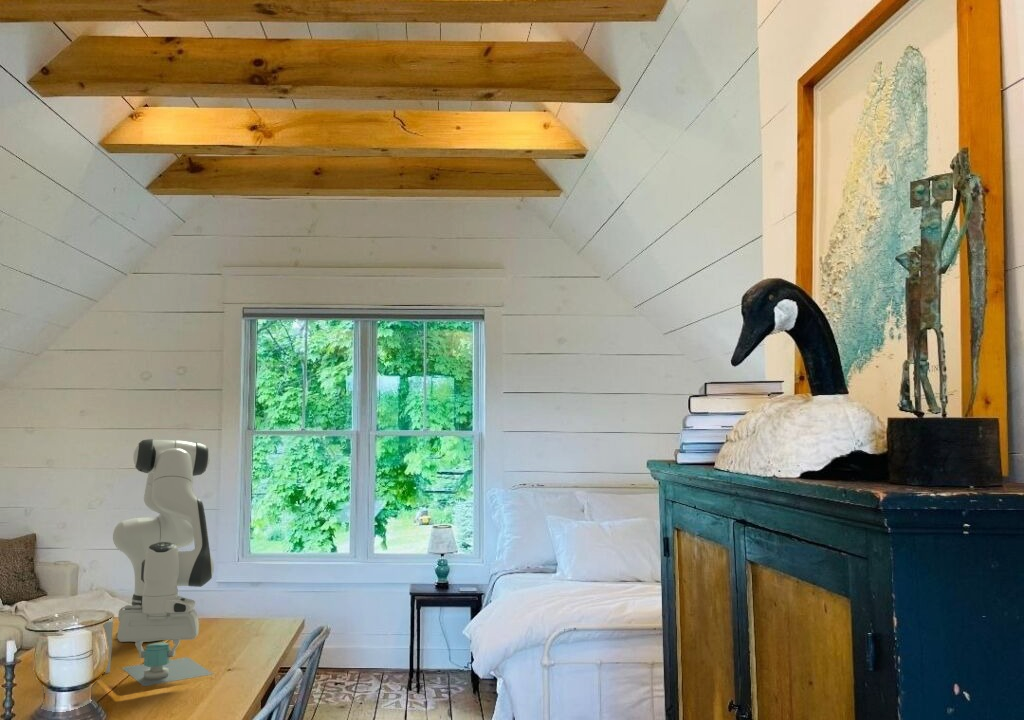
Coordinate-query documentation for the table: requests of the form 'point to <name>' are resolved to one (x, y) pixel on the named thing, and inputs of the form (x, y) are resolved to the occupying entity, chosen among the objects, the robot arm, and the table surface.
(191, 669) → the post board
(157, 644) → the cap
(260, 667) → the table surface
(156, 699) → the table surface
